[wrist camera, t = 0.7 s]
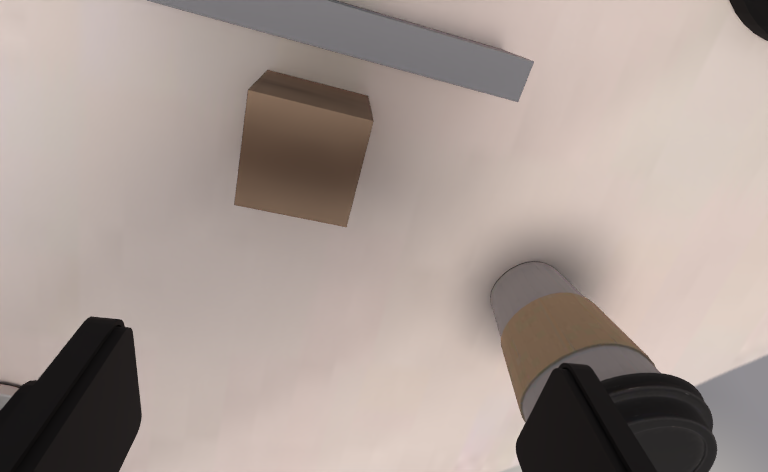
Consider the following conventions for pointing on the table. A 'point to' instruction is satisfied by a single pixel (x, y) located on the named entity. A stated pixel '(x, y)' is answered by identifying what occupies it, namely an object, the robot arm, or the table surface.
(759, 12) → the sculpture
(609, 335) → the coffee cup
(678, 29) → the table surface
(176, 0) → the bar
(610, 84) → the table surface
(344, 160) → the cube
